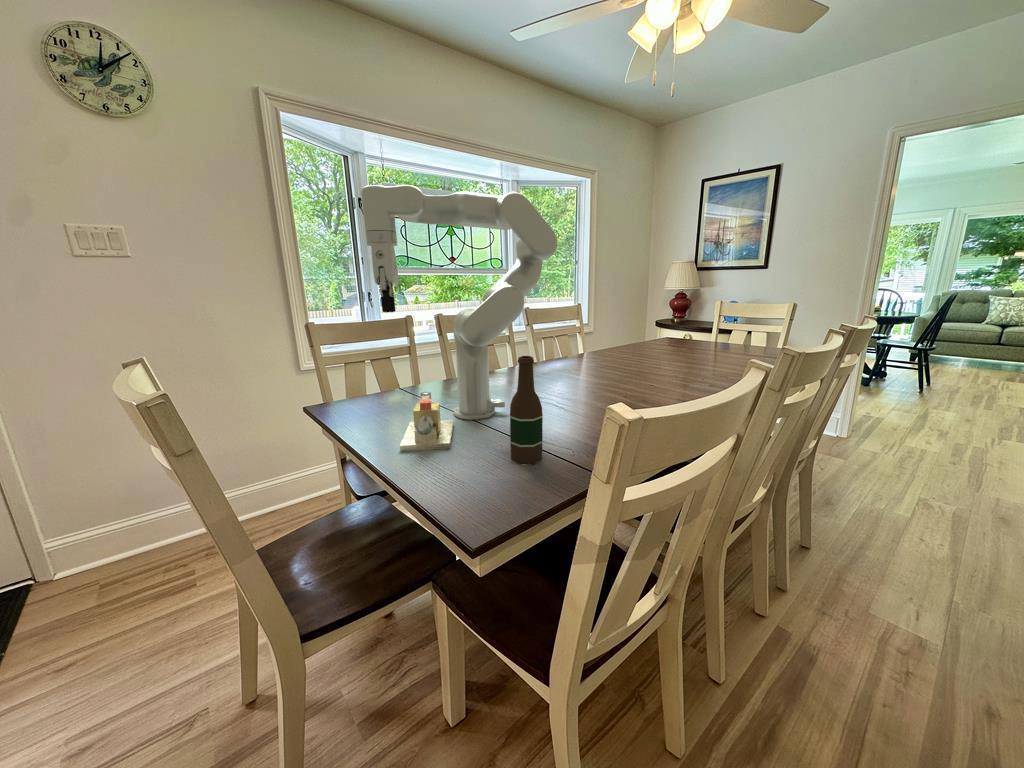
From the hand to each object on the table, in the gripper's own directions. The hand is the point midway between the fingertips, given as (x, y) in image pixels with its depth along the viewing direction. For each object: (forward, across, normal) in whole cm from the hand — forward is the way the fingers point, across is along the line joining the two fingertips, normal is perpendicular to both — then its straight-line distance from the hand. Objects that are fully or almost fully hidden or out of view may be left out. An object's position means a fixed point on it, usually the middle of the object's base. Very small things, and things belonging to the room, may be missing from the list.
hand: (389, 311), depth 106 cm
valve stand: (+32, -12, -9) cm, 35 cm away
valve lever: (+21, -16, -9) cm, 28 cm away
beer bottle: (+32, -29, -32) cm, 54 cm away
